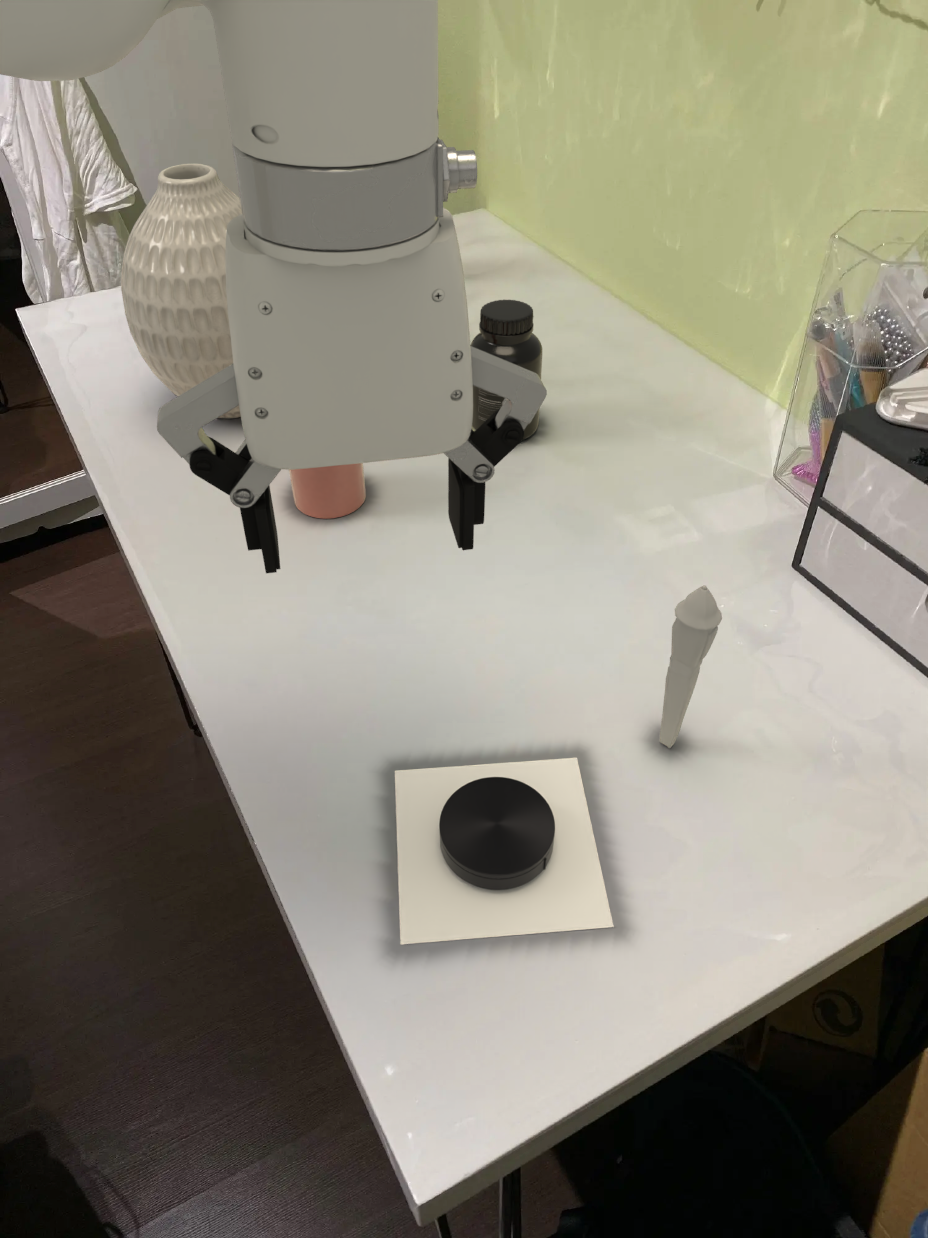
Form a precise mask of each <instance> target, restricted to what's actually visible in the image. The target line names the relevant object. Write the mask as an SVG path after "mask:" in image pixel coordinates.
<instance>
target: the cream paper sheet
mask: <svg viewBox="0 0 928 1238" xmlns="http://www.w3.org/2000/svg"><path fill="white" fill-rule="evenodd" d="M487 777H505V778H511V779H515V780H518V781H520V782H523V783H525V784H527V785H529V786H530V787H532V788H533V789H535V790H536V791H537V792H538V793H540V794H541V795H542V796H543V798H544V799H545V800H546V801H547V803H548V804H549V806H550V808H551V810H552V813H553V816H554V821H555V835H554V845H553V851H552V855H551V858H550V860H549V862H548V864H547V865H546V869H545V870H543V871H542V872H541V873H540V874H539V875H538V876H537V877H535V878H534V879H533V880H531V881H530V882H528V883H526V884H524V885H522V886H519V887H516V888H512V889H507V890H489V889H483V888H480V887H476V886H474V885H471V884H469V883H467V882H466V881H464V880H462V879H461V878H460V877H458V876H457V875H456V874H455V873H454V872H453V871H452V870H451V869H450V867H449V866H448V865H447V863H446V861H445V859H444V857H443V854H442V851H441V847H440V831H439V822H440V815H441V812H442V809H443V807H444V805H445V803H446V802H447V800H448V799H449V798H450V796H451V795H452V794H453V793H454V792H455V791H456V790H458V789H459V788H460V787H462V786H464V785H465V784H467V783H469V782H472V781H474V780H478V779H481V778H487ZM394 790H395V791H394V792H395V793H394V794H395V817H396V818H395V820H396V821H395V822H396V823H395V824H396V853H397V854H396V855H397V882H398V884H397V885H398V886H397V887H398V910H399V911H398V912H399V914H398V915H399V916H398V917H399V945H407V944H408V945H409V944H410V945H411V944H422V943H437V942H448V941H461V940H473V939H483V938H496V937H509V936H510V937H511V936H519V935H520V936H523V935H532V934H534V935H535V934H545V933H546V934H547V933H556V932H557V933H558V932H559V933H560V932H569V931H571V932H572V931H582V930H594V929H606V928H607V929H608V928H615V925H614V921H613V917H612V912H611V909H610V908H611V907H610V903H609V899H608V894H607V889H606V885H605V880H604V877H603V876H604V875H603V871H602V867H601V862H600V858H599V857H600V856H599V853H598V852H599V851H598V849H597V843H596V838H595V835H594V830H593V825H592V821H591V816H590V812H589V807H588V802H587V798H586V797H587V796H586V792H585V789H584V784H583V780H582V775H581V770H580V765H579V760H578V757H568V758H567V757H566V758H552V759H539V760H525V761H523V760H522V761H509V762H497V763H483V764H481V763H480V764H467V765H456V766H455V765H454V766H440V767H439V766H438V767H427V768H425V767H424V768H412V769H400V770H398V769H397V770H394Z"/></svg>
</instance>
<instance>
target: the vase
mask: <svg viewBox="0 0 928 1238" xmlns="http://www.w3.org/2000/svg"><path fill="white" fill-rule="evenodd" d="M157 183H158V184H157V187H156V191H155V192H154V194H153V195H152V197H151V198H150V200H149V202H148V203H147V204H146V206H145V207H144V209H143V210H142V212H141V214H140V215H139V217H138V218H137V220H136V221H135V223H134V225H133V227H132V229H131V231H130V233H129V235H128V238H127V241H126V246H125V249H124V252H123V256H122V264H121V272H120V273H121V274H120V290H121V296H122V304H123V309H124V310H123V311H124V315H125V318H126V322H127V326H128V329H129V333H130V335H131V337H132V339H133V341H134V343H135V346H136V348H137V350H138V352H139V354H140V356H141V358H142V359H143V360H144V362H145V363H146V365H147V366H148V368H149V369H150V371H151V372H152V374H153V375H154V376H155V377H156V378H157V379H158V380H159V381H160V382H161V383H162V384H163V385H164V386H165V387H166V388H167V389H168V390H169V391H170V392H171V393H172V394H174V395H175V396H176V397H178V396H180V395H181V394H183V393H185V392H186V391H188V390H190V389H191V388H193V387H195V386H196V385H198V384H200V383H201V382H203V381H205V380H206V379H208V378H210V377H211V376H213V375H215V374H216V373H218V372H220V371H221V370H223V369H225V368H226V367H228V366H230V365H231V364H233V355H232V346H231V337H230V327H229V318H228V307H227V294H226V267H225V248H226V230H227V225H228V223H229V222H230V221H231V220H232V219H233V218H235V217H237V216H239V215H241V214H242V207H241V201H240V196H238V194H235V192H234V191H232V190H231V189H230V188H229V187H227V186H226V185H225V184H224V183H223V182H222V181H221V180H220V177H219V175H218V172H217V170H216V168H214V167H213V166H211V165H209V164H203V163H181V164H176V165H171V166H169V167H166V168H164V169H162V170H161V171H160V172H159V173H158V175H157ZM238 418H241V414H240V408H239V406H237V407H235V408H233V409H232V410H230V411H228V412H227V413H225V414H223V415H222V416H220V417H218V418H217V419H238Z"/></svg>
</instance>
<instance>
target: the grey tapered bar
mask: <svg viewBox="0 0 928 1238" xmlns="http://www.w3.org/2000/svg"><path fill="white" fill-rule="evenodd" d="M674 616H675V617H676V618H675V620H674V621H673V623H672V626H671V654H670V657H669V664H668V666H667V671H666V676H665V683H664V684H665V685H664V694H663V695H664V696H663V704H662V714H661V720H660V721H661V722H660V723H661V724H660V729H659V743H660V744H661V745H664V746H666V747H667V748H668V749H671V748H672V747H673V746H674V745H675V743H676V741H677V739H678V736H679V734H680V731H681V728H682V725H683V722H684V719H685V716H686V713H687V711H688V708H689V704H690V702H691V699H692V696H693V693H694V690H695V688H696V685H697V682H698V678H699V675H700V671H701V665H702V664H703V660H704V659H705V658H706V656H707V655H708V653H709V651H710V649H711V647H712V645H713V643H714V640H715V638H716V636H717V634H718V630H719V625H720V624H721V622H722V620H723V613H722V611H721V610H720V609H719V607H718V605H717V601H716V599H715V597H714V595H713V594H712V592H711V591H710V589H709V588H708V587H707V585H702V586H699V587H698V588H696V589H695V590H693V591H692V592H690V593H688V595H687V596H686V597H685V598H684V599H683V600H681V601H680V602H678V603H677V605H676V606H675V608H674Z"/></svg>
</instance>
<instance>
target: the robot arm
mask: <svg viewBox="0 0 928 1238" xmlns="http://www.w3.org/2000/svg"><path fill="white" fill-rule="evenodd" d="M194 7H205V8H206V9H207V10H208V12H209V13H210V15H211V18H212V21H213V28H214V35H215V40H216V48H217V53H218V54H217V55H218V61H219V68H220V74H221V81H222V87H223V88H222V89H223V94H224V102H225V107H226V113H227V121H228V127H229V134H230V139H231V147H232V155H233V161H234V166H235V174H236V180H237V185H238V194H239V198H240V201H241V207H242V214H241V215H239V216H237V217H235V218H233V219H232V220H231V221H230V222H229V223H228V225H227V230H226V248H225V267H226V294H227V307H228V318H229V327H230V337H231V346H232V355H233V364H231V365H230V366H228V367H226V368H225V369H223V370H221V371H220V372H218V373H216V374H215V375H213V376H211V377H210V378H208V379H206V380H205V381H203V382H201V383H200V384H198V385H196V386H195V387H193V388H191V389H190V390H188V391H186V392H185V393H183V394H181V395H180V396H176V397H175V398H173V399H171V400H170V401H168V402H166V403H165V404H163V405H161V406H160V407H159V409H158V411H157V422H156V429H157V432H158V435H160V436H161V438H162V439H164V441H165V442H166V443H167V444H168V445H169V446H170V447H171V449H173V450H174V451H175V452H176V454H177V455H178V456H179V457H180V458H181V459H183V460H185V462H186V463H187V464H188V465H189V469H190V472H191V473H192V474H193V475H195V476H196V477H198V478H200V479H202V480H203V481H205V482H206V483H208V484H209V485H211V486H213V487H214V488H216V489H218V490H220V491H221V492H223V493H225V495H228V496H229V500H230V502H231V504H233V506H235V507H237V508H239V511H240V517H241V521H242V527H243V531H244V537H245V542H246V548H247V550H248V551H256V550H261V553H262V559H263V564H264V570H265V574H274V573H277V571H278V570H281V561H280V560H281V559H280V548H279V535H278V529H277V523H276V516H275V511H274V505H273V499H272V493H271V486H270V485H271V484H272V482H273V481H274V480H275V478H276V477H277V476H278V474H279V473H280V472H281V471H282V470H286V471H287V470H288V471H289V469H306V468H316V467H327V466H337V465H348V464H358V463H363V464H366V463H376V462H385V461H386V462H387V461H395V460H405V459H415V458H423V457H431V456H437V455H442V454H444V455H445V456H446V457H447V458H448V459H447V465H448V466H447V467H448V469H447V470H448V472H447V473H448V477H447V478H448V479H447V481H448V483H447V486H448V487H447V490H448V493H447V494H448V495H447V498H448V500H447V503H448V504H447V507H448V508H447V509H448V511H447V512H448V520H449V523H450V526H451V529H452V532H453V535H454V538H455V541H456V545H457V548H458V549H461V550H462V551H469V550H473V549H474V543H475V541H474V537H475V536H474V535H475V526H477V525H478V526H479V525H483V524H484V523H485V507H486V506H485V505H486V483H487V482H488V481H490V480H491V479H492V478H493V477H494V475H495V472H496V471H495V467H496V466H497V465H498V464H499V463H500V462H501V461H502V460H503V459H505V457H507V455H509V454H510V453H511V452H512V451H513V450H514V449H515V448H516V447H517V446H518V445H519V444H521V442H522V441H524V440H523V438H524V430H525V428H526V426H527V425H528V424H530V423H531V421H532V419H533V418H534V416H535V414H536V413H537V411H538V409H539V408H540V409H541V406H542V405H543V403H544V402H545V400H546V397H547V395H548V391H547V388H546V387H545V385H544V383H543V381H542V378H541V379H540V377H539V375H538V374H536V373H535V372H532V371H530V370H527V369H525V368H523V367H520V366H518V365H515V364H513V363H510V362H508V361H506V360H503V359H501V358H498V357H496V356H494V355H491V354H489V353H486V352H484V351H482V350H479V349H477V348H474V347H472V346H470V345H471V335H470V322H469V310H468V299H467V291H466V282H465V274H464V267H463V261H462V255H461V254H462V253H461V250H460V244H459V240H458V234H457V229H456V226H455V221H454V217H453V215H452V212H451V211H449V210H448V209H447V208H445V207H444V203H447V202H448V199H449V194H454V193H455V194H457V193H458V190H467V189H475V188H476V187H477V183H478V161H477V155H476V152H475V150H474V149H464V150H462V149H461V150H456V147H454V146H448V147H447V145H446V144H445V142H444V141H443V139H440V137H439V134H440V130H439V129H440V126H439V125H440V121H439V119H440V118H439V117H440V116H439V109H438V108H439V0H0V75H1V76H7V77H10V78H11V77H12V78H18V79H23V80H28V81H35V82H60V81H61V82H62V81H63V82H65V81H74V80H77V79H78V80H79V79H83V78H87V77H91V76H93V75H97V74H99V73H102V72H103V71H105V70H108V69H109V68H112V67H113V66H115V65H116V64H118V63H119V62H120V61H122V60H123V59H125V58H126V57H127V56H128V55H129V54H130V53H131V52H132V51H133V50H134V49H135V48H136V47H138V45H139V44H141V42H142V41H143V39H144V38H145V37H146V36H147V34H148V33H149V31H150V30H151V29H152V27H153V26H154V25H155V23H156V22H157V20H158V19H160V18H162V17H164V16H166V15H168V14H170V13H172V12H173V11H175V10H177V9H183V8H184V9H185V8H194ZM473 386H476V387H478V388H481V389H484V390H486V391H489V392H491V393H494V394H496V395H499V396H501V397H504V398H505V399H504V401H503V402H502V404H503V405H502V407H501V408H499V409H498V410H496V411H495V412H494V413H493V414H492V415H491V416H490V417H489V418H488V419H487V420H486V421H485V422H484V423H483V424H482V425H481V426H480V427H479V428H478V429H477V430H475V429H474V428H473V427H472V420H473ZM237 406H239V408H240V414H241V417H240V419H241V425H242V430H243V435H244V440H243V442H242V443H241V444H240V446H239V447H238V448H237V449H236V451H235V452H234V451H233V450H232V449H230V448H229V447H227V446H225V445H224V444H222V443H221V442H219V441H218V440H216V439H214V438H213V437H211V436H209V435H208V434H206V433H205V430H204V429H203V427H205V426H207V425H208V424H210V423H211V422H213V421H215V420H216V419H219V418H218V417H220V416H222V415H223V414H225V413H227V412H228V411H230V410H232V409H233V408H235V407H237Z"/></svg>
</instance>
